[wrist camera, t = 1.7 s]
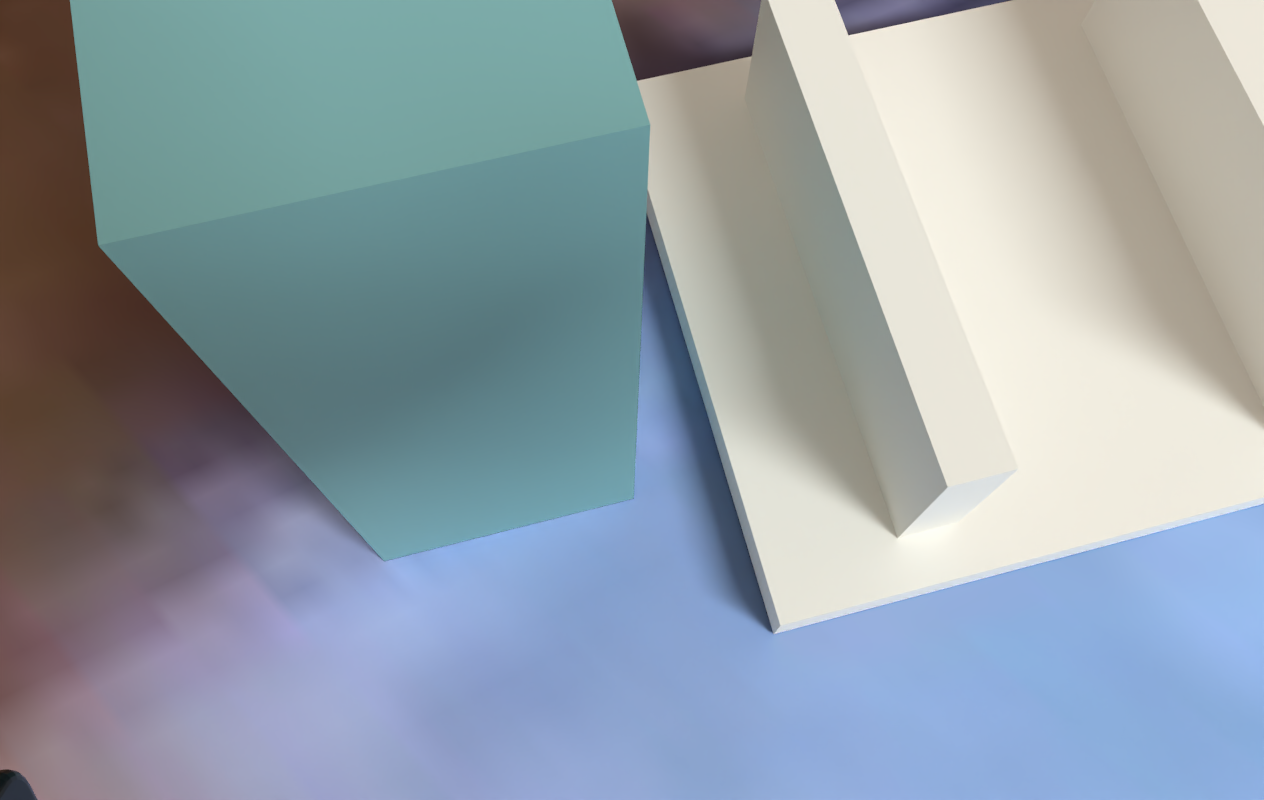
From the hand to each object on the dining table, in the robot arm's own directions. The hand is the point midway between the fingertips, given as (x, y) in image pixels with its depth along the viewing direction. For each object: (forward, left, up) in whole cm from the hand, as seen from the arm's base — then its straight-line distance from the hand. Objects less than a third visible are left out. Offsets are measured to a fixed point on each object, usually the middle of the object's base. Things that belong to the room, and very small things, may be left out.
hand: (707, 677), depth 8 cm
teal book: (+3, +7, -14) cm, 16 cm away
